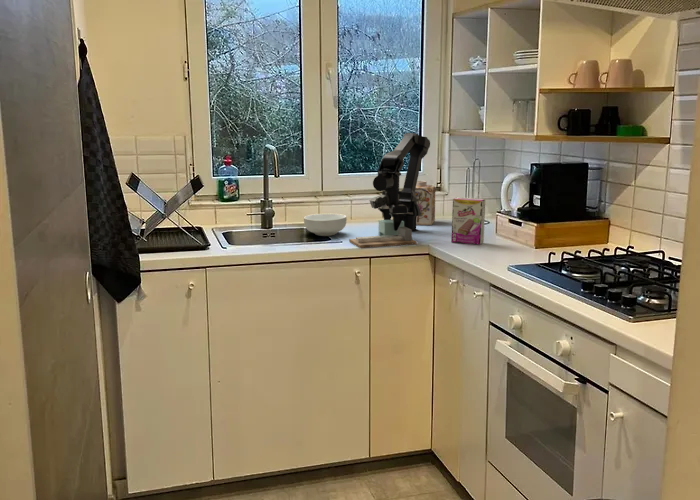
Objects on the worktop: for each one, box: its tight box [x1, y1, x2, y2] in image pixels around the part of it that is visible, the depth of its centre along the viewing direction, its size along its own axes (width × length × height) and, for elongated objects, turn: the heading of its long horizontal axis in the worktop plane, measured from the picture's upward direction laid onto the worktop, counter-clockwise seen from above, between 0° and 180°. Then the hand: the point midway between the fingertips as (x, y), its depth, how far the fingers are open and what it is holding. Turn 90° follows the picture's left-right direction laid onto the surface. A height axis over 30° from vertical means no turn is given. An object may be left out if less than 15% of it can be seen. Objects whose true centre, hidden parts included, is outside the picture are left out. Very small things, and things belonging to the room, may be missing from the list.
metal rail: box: [355, 235, 403, 243], centre depth 263 cm, size 20×3×2 cm, turn 108°
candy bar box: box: [451, 196, 486, 246], centre depth 263 cm, size 11×5×16 cm, turn 65°
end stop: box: [398, 227, 413, 241], centre depth 266 cm, size 2×7×4 cm, turn 18°
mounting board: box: [348, 238, 418, 249], centre depth 263 cm, size 22×12×1 cm, turn 108°
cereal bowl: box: [303, 213, 347, 237], centre depth 281 cm, size 17×17×7 cm
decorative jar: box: [409, 180, 437, 226], centre depth 306 cm, size 12×12×18 cm
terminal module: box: [378, 218, 404, 236], centre depth 277 cm, size 8×6×6 cm
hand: (391, 228), depth 277 cm, fingers open, 9 cm apart
